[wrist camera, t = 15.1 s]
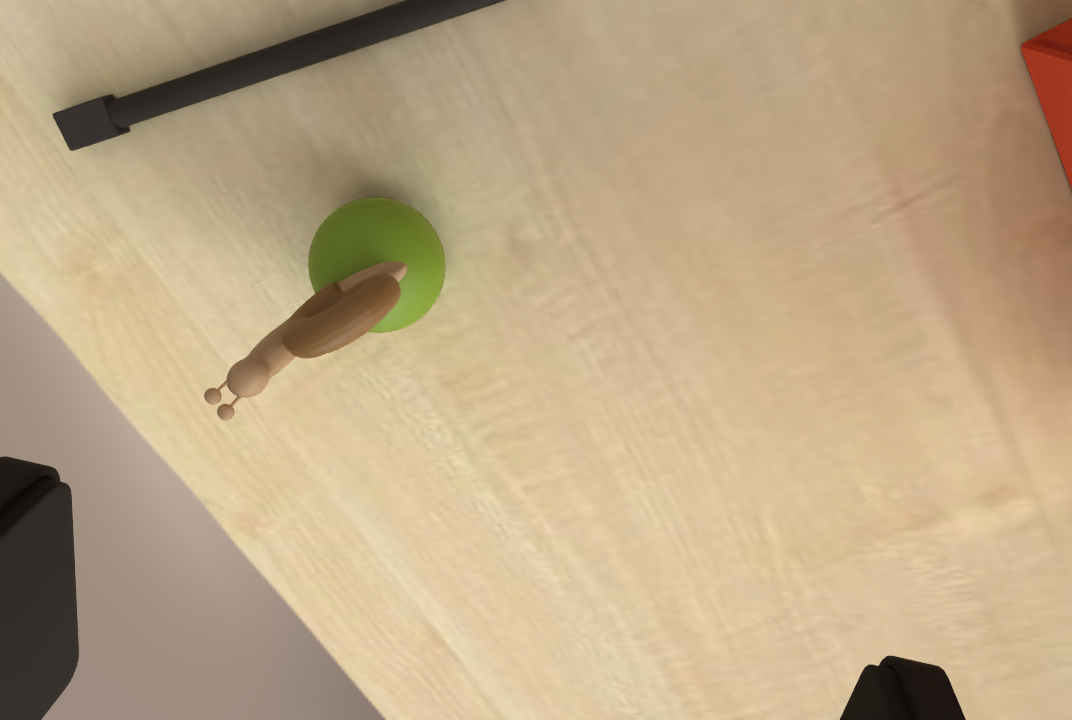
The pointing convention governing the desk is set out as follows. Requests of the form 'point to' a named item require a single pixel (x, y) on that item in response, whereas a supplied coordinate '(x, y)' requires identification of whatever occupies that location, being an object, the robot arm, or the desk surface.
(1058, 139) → the file binder
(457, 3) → the black long thin rod
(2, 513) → the robot arm
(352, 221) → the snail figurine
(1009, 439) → the desk surface
